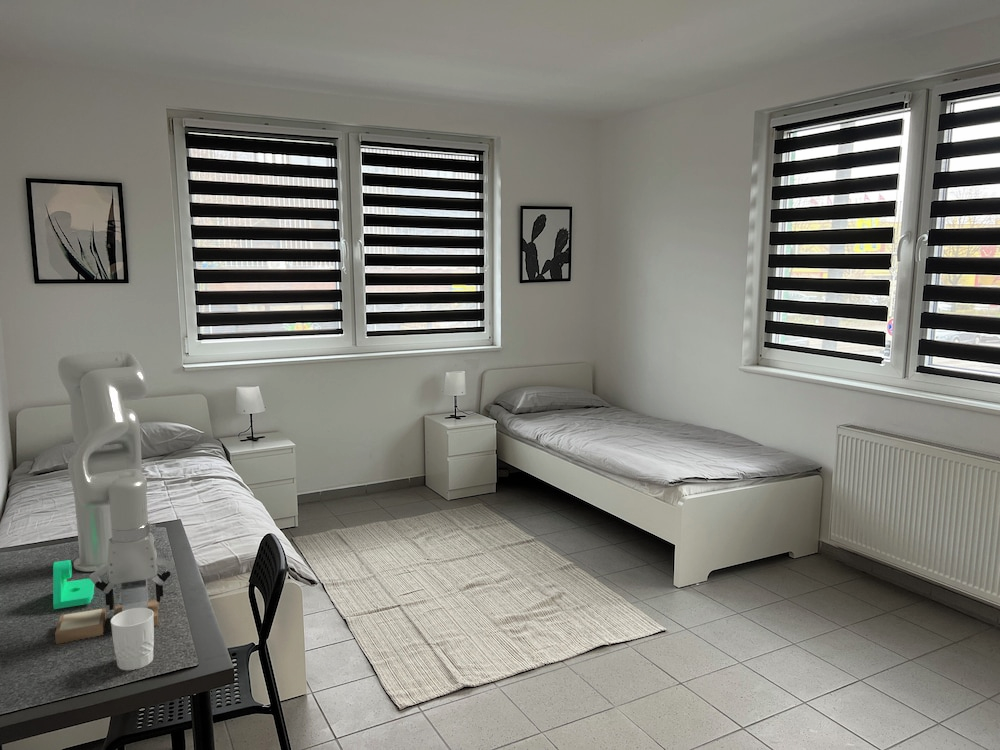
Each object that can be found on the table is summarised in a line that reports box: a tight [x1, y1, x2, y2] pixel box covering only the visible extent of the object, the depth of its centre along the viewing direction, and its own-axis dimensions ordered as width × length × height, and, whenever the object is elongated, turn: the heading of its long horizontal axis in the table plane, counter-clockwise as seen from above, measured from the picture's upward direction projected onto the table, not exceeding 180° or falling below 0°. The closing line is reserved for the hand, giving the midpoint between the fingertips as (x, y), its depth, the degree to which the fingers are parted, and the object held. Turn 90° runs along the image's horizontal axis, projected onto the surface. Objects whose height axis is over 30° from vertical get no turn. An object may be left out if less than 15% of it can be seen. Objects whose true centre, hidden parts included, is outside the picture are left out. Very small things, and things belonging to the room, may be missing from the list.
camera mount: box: [52, 559, 96, 610], centre depth 176 cm, size 12×8×10 cm, turn 25°
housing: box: [120, 580, 149, 611], centre depth 166 cm, size 7×5×7 cm
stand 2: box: [113, 598, 160, 627], centre depth 167 cm, size 9×9×2 cm
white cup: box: [110, 608, 155, 671], centre depth 149 cm, size 8×8×10 cm
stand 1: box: [54, 607, 107, 645], centre depth 162 cm, size 9×9×3 cm
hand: (135, 603), depth 166 cm, fingers open, 9 cm apart
